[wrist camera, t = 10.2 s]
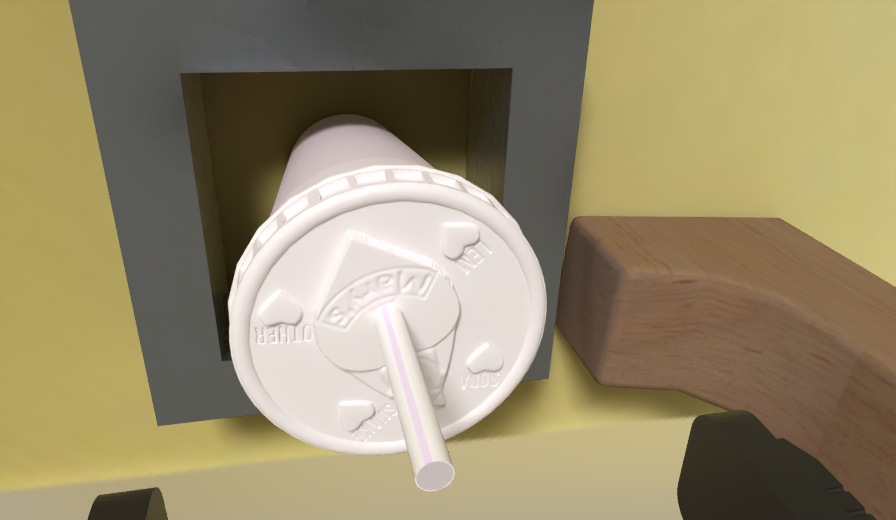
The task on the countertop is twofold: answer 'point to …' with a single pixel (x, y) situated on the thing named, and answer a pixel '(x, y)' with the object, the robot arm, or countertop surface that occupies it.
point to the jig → (307, 49)
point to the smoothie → (382, 301)
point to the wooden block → (743, 332)
